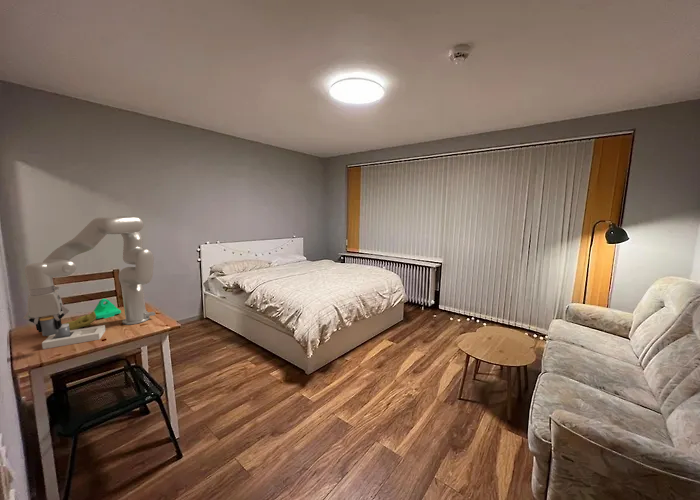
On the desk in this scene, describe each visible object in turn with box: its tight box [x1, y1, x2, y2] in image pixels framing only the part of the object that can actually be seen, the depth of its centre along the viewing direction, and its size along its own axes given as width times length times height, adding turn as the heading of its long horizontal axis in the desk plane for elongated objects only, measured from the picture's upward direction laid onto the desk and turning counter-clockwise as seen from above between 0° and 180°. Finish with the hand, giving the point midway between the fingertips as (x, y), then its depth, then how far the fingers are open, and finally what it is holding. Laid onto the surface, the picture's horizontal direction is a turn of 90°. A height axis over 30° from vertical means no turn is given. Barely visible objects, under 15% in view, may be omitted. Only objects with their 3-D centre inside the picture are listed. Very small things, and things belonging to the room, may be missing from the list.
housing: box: [41, 324, 106, 350], centre depth 140 cm, size 20×12×4 cm, turn 120°
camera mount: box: [92, 298, 122, 320], centre depth 171 cm, size 12×8×10 cm, turn 145°
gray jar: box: [39, 315, 59, 337], centre depth 127 cm, size 5×5×8 cm
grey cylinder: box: [55, 323, 71, 339], centre depth 137 cm, size 5×5×8 cm
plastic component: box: [47, 311, 97, 338], centre depth 153 cm, size 20×7×10 cm
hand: (49, 329), depth 128 cm, fingers closed on gray jar, 4 cm apart
